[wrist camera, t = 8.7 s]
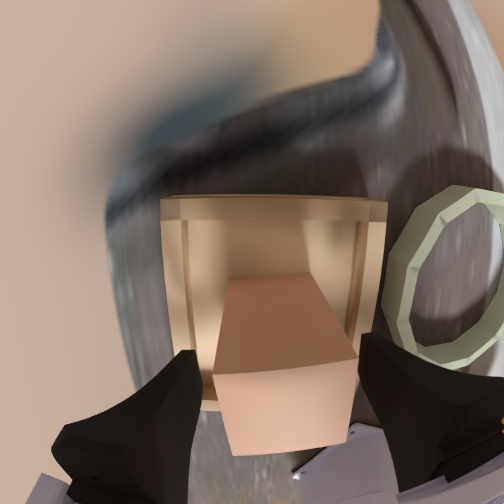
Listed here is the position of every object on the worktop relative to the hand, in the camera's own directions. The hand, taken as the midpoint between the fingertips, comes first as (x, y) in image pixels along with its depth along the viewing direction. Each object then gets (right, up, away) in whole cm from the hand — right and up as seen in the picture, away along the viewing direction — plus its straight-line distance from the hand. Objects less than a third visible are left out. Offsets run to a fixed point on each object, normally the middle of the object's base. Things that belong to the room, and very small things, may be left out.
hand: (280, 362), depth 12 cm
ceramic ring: (+14, +3, +5) cm, 15 cm away
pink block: (0, +1, +4) cm, 5 cm away
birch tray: (0, +2, +5) cm, 6 cm away
